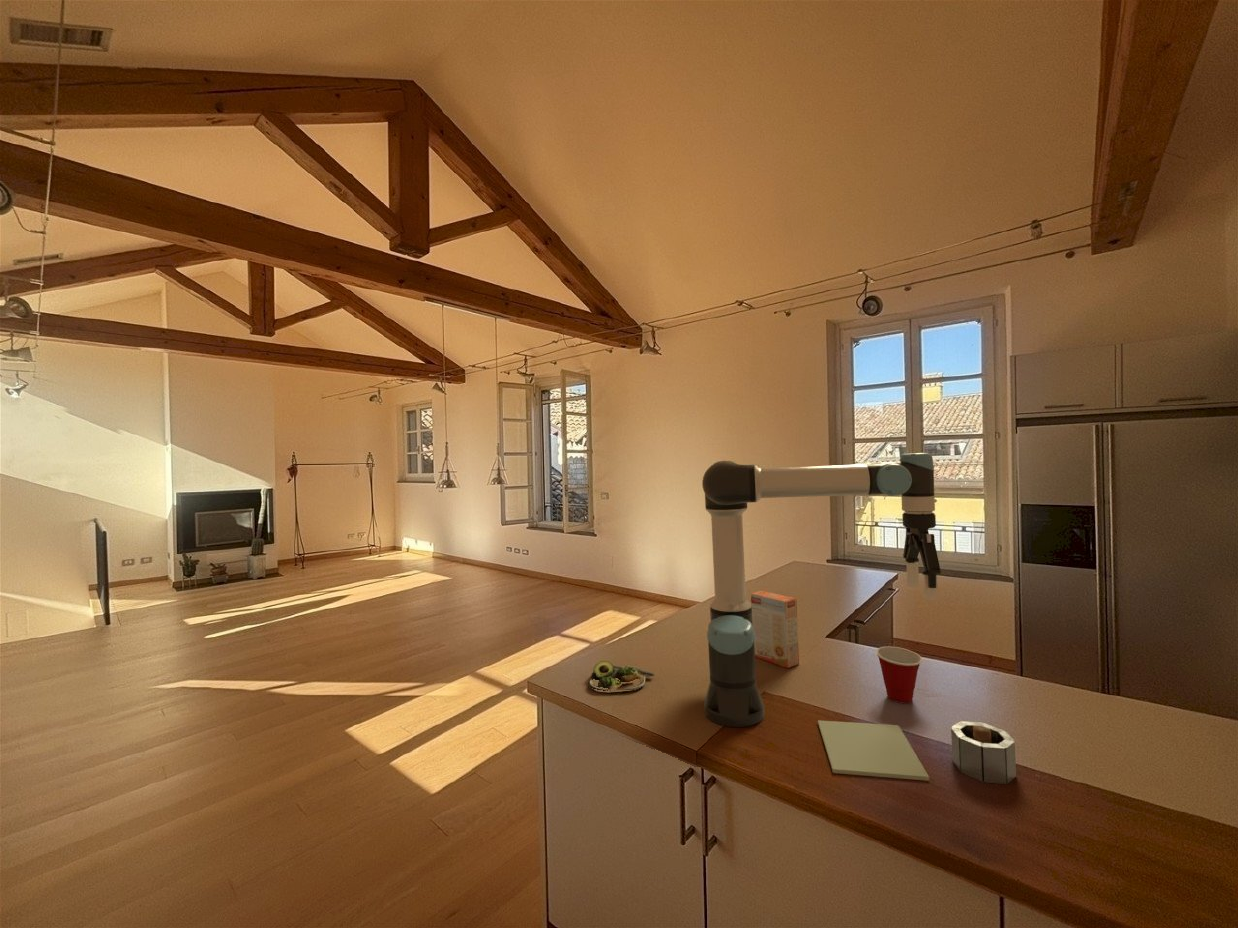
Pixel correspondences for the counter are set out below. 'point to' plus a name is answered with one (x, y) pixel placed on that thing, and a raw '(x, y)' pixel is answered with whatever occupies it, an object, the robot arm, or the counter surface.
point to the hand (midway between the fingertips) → (921, 593)
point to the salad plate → (616, 676)
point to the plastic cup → (899, 672)
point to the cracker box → (775, 628)
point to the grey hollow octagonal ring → (983, 753)
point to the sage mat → (870, 750)
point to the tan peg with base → (982, 734)
